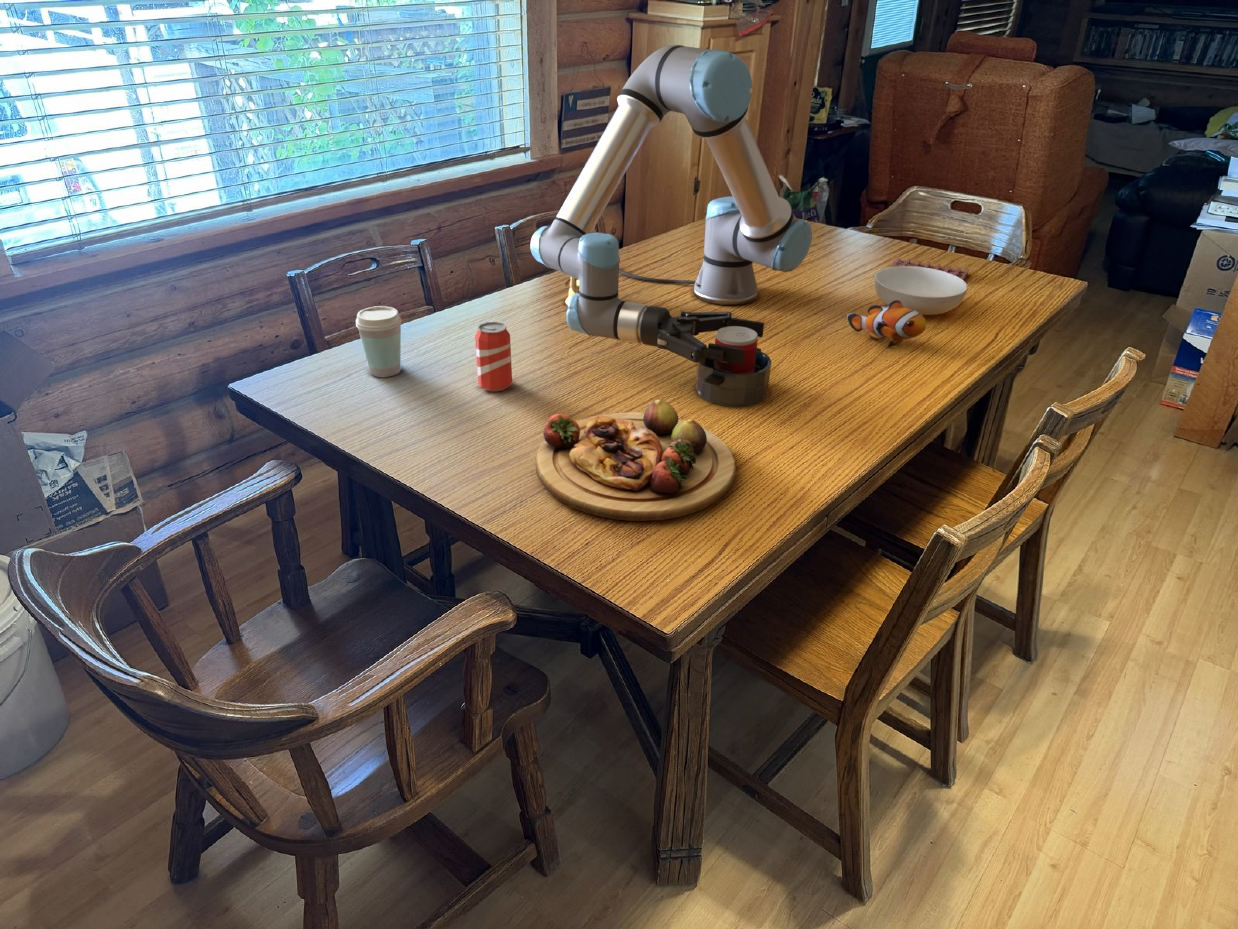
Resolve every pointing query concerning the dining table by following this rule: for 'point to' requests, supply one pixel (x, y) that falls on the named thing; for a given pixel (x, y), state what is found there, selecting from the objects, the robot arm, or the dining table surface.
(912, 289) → the serving bowl
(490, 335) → the beverage can
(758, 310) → the dining table surface
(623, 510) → the wooden plate
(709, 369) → the pot
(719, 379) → the pot handles
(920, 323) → the fish
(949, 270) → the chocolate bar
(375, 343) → the coffee cup
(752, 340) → the canned food
